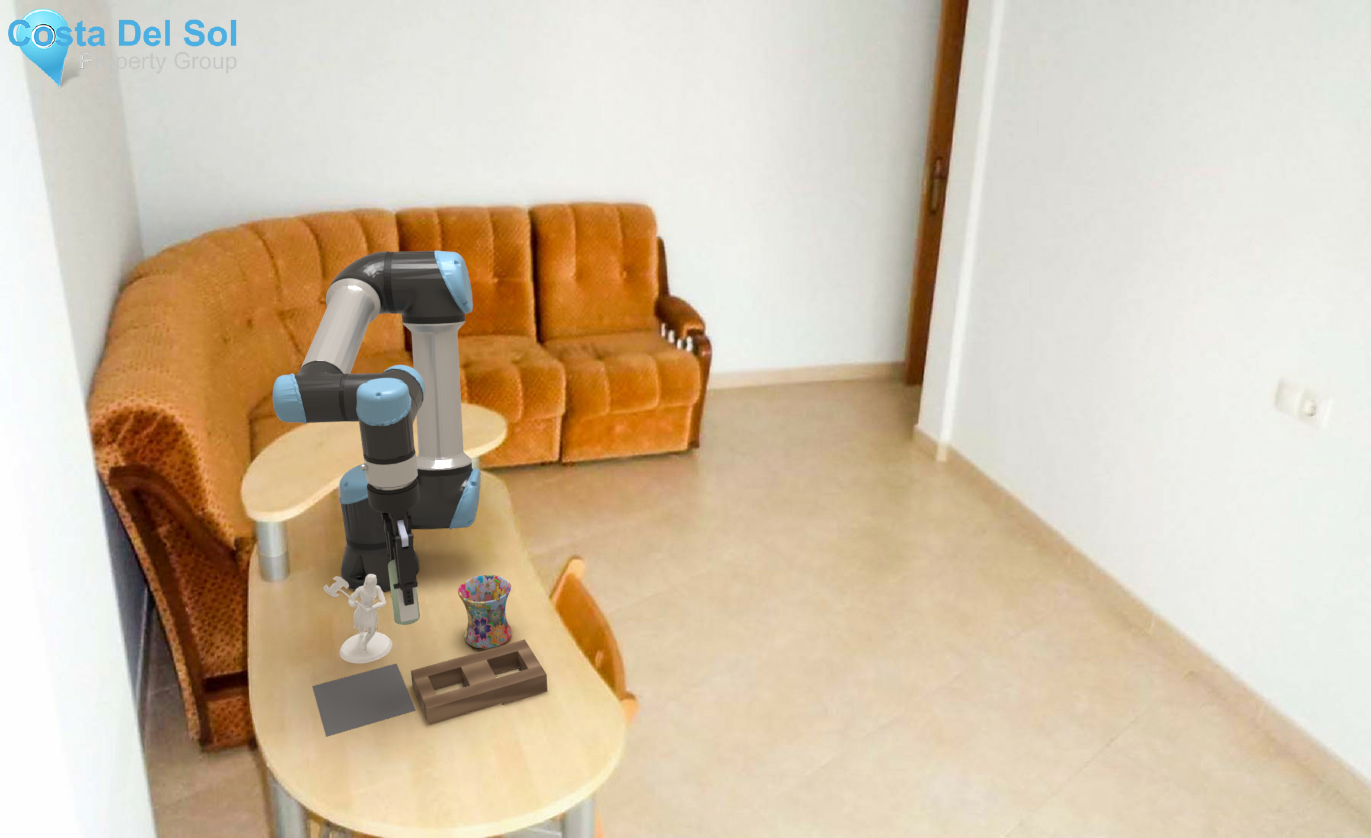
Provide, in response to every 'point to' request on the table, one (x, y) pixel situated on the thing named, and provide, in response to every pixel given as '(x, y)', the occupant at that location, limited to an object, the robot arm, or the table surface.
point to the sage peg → (395, 595)
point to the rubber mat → (362, 699)
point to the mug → (486, 610)
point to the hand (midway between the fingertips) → (406, 611)
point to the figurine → (363, 622)
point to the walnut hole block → (478, 681)
